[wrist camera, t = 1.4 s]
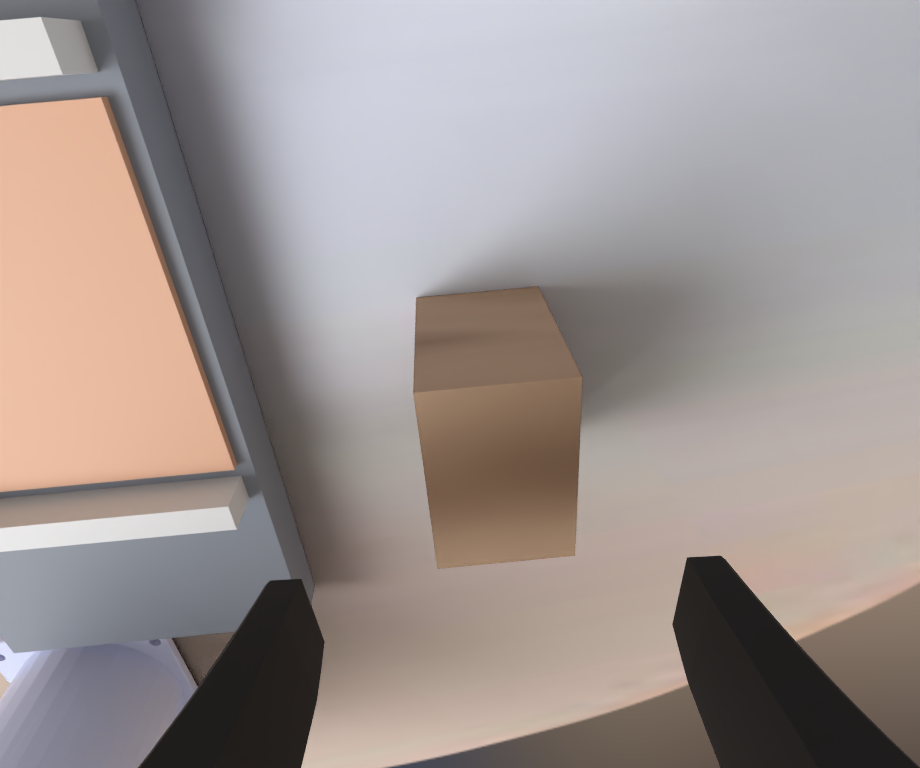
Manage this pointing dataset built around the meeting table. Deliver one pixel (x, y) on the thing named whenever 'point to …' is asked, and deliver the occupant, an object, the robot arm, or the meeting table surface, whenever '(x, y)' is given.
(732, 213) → the meeting table surface
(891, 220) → the meeting table surface
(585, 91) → the meeting table surface
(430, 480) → the brown rectangular block
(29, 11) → the frame
